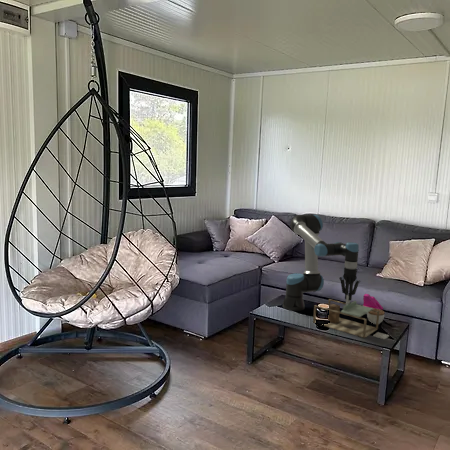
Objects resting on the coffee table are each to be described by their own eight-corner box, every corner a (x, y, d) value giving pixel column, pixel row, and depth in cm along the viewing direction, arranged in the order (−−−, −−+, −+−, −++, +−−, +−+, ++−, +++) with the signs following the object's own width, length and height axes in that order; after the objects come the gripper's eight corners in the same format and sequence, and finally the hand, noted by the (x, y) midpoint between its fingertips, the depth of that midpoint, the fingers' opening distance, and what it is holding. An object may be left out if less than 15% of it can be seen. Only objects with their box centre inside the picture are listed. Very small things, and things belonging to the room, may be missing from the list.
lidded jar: (384, 326, 282) (386, 312, 281) (367, 324, 284) (368, 310, 283) (382, 320, 293) (383, 306, 291) (365, 318, 295) (366, 305, 294)
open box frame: (312, 322, 284) (314, 305, 282) (328, 315, 299) (329, 298, 297) (364, 337, 262) (366, 319, 260) (377, 329, 277) (379, 311, 276)
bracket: (362, 309, 314) (363, 295, 312) (365, 305, 323) (366, 292, 321) (380, 313, 308) (381, 298, 307) (382, 309, 317) (384, 294, 316)
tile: (373, 336, 265) (373, 335, 265) (377, 333, 271) (377, 332, 271) (384, 339, 261) (384, 338, 261) (389, 336, 266) (389, 335, 266)
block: (328, 321, 285) (329, 305, 284) (331, 319, 289) (332, 303, 288) (335, 323, 282) (336, 307, 281) (338, 321, 286) (340, 305, 284)
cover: (340, 312, 271) (341, 306, 270) (355, 304, 286) (355, 299, 285) (359, 317, 263) (360, 311, 263) (373, 309, 278) (373, 304, 278)
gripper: (338, 266, 276) (335, 303, 279) (358, 270, 268) (355, 308, 271) (343, 265, 282) (340, 301, 285) (363, 268, 273) (360, 306, 277)
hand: (347, 304), depth 278 cm, fingers closed
